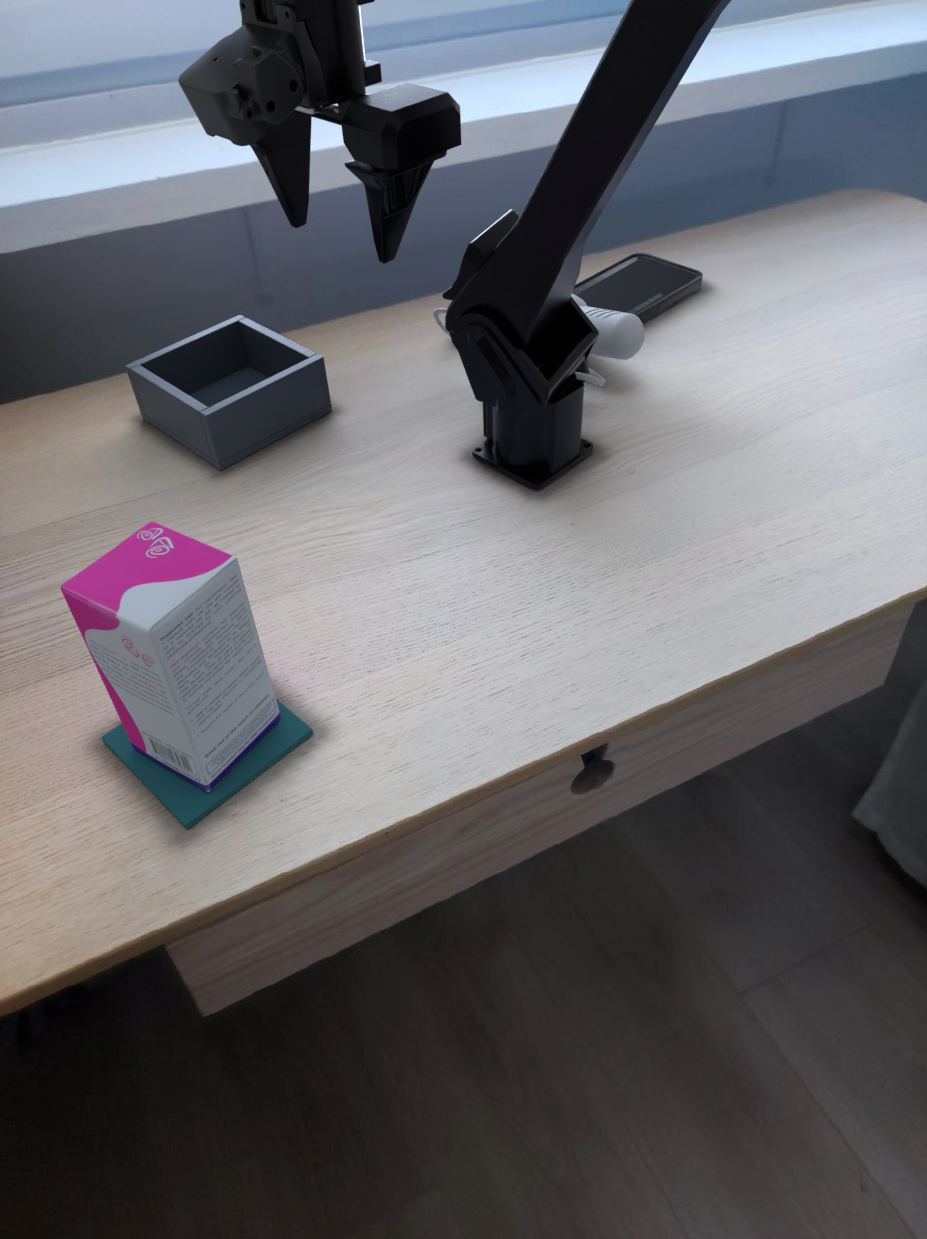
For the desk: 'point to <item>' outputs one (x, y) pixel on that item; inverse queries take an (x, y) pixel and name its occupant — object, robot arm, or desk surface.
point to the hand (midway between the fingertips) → (341, 243)
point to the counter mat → (197, 803)
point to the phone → (639, 286)
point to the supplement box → (177, 651)
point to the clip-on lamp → (602, 337)
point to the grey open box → (230, 390)
